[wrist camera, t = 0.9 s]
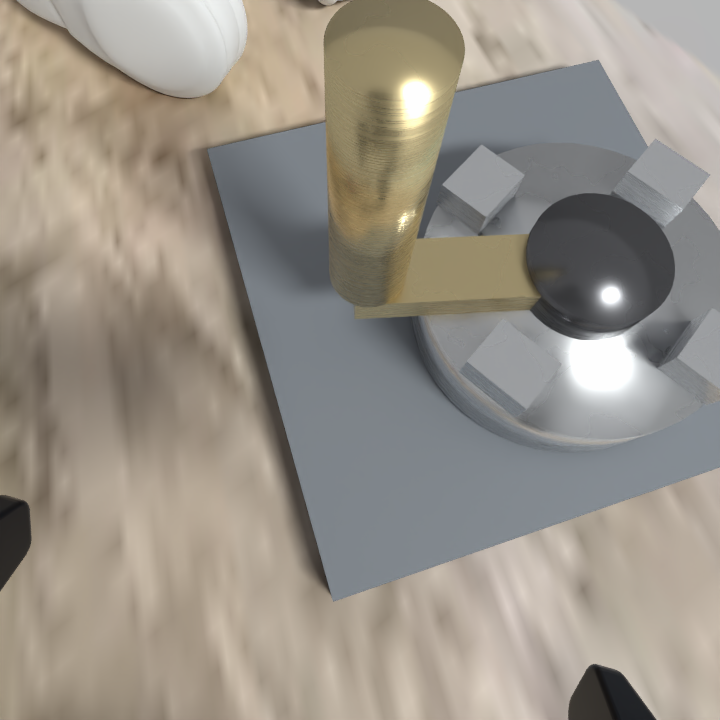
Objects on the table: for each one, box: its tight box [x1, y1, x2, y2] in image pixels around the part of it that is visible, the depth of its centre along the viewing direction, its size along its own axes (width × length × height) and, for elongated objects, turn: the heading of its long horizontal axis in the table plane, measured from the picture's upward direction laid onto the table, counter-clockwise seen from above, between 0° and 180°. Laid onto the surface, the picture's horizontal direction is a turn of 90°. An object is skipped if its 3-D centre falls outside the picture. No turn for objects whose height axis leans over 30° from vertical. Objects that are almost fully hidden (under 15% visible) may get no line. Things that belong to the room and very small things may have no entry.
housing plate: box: [207, 60, 720, 602], centre depth 24 cm, size 20×20×2 cm
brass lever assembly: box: [324, 0, 720, 453], centre depth 17 cm, size 15×12×13 cm
